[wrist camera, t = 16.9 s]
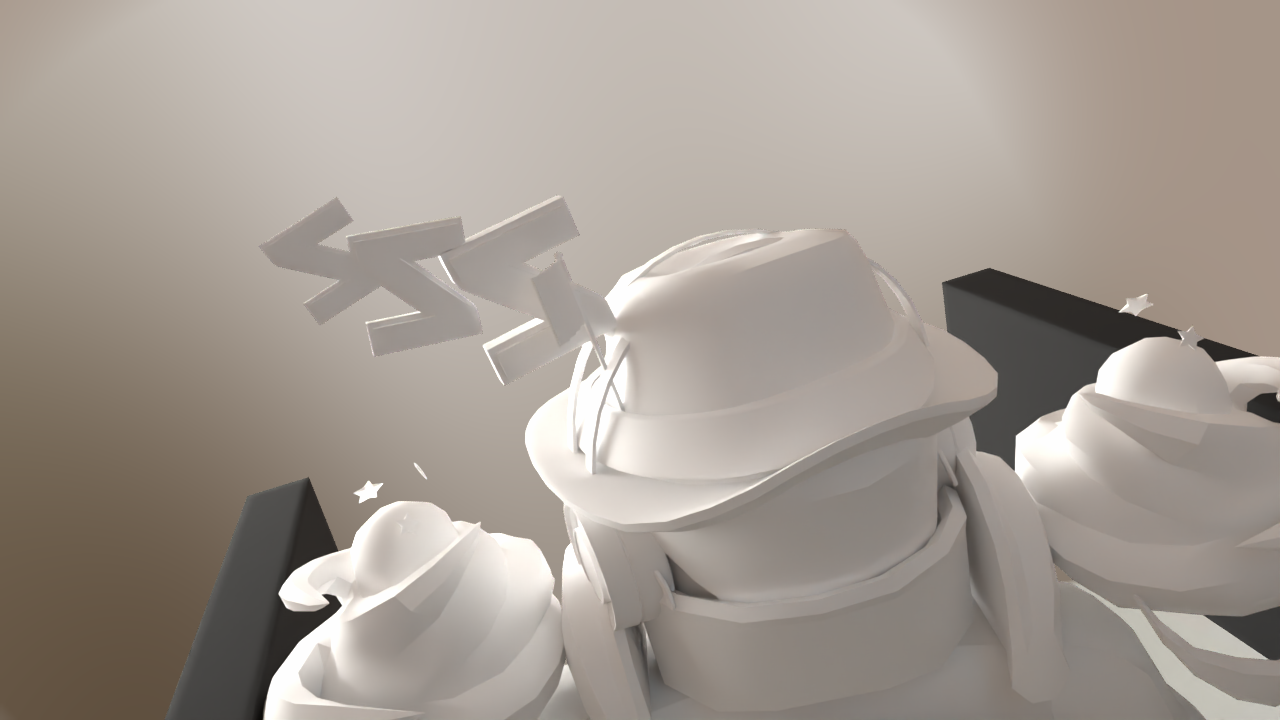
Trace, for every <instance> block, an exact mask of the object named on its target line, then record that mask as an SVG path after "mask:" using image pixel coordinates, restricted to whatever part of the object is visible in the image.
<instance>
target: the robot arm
mask: <svg viewBox="0 0 1280 720" xmlns="http://www.w3.org/2000/svg"><path fill="white" fill-rule="evenodd" d="M942 285H943V295H944V304H945V314H946V322H947V332H948V333H950V334H951V335H953V336H955V337H957V338H958V339H960V340H962V341H963V342H965V343H966V344H968V345H969V346H970V347H971V348H973V349H974V350H975V351H976V352H978V353H979V354H980V355H981V356H983V357H984V358H985V359H986V360H987V361H988V363H989V364H990V365H991V366H992V367H993V368H994V370H995V371H996V372H997V373H998V384H997V396H996V397H995V398H994V399H993V400H992V401H991V402H990V403H989V404H988V405H986V406H984V407H983V408H981V409H980V410H978V411H977V412H975V413H973V414H972V415H970V416H969V418H970V420H971V423H972V426H973V431H974V435H975V439H976V451H978V452H984V453H988V454H991V455H995V456H998V457H1000V458H1001V459H1002V460H1003V461H1004V462H1005V463H1006V464H1007V465H1008V466H1009V467H1010V468H1011V469H1013V470H1014V471H1015V457H1016V436H1017V435H1018V434H1019V433H1021V432H1022V431H1023V430H1025V429H1026V428H1027V427H1029V426H1030V425H1031V424H1033V423H1034V422H1035V421H1036V420H1038V419H1039V418H1040V417H1042V416H1044V415H1047V414H1049V413H1052V412H1055V411H1058V410H1062V409H1065V408H1066V407H1067V405H1068V403H1069V401H1070V399H1071V397H1072V395H1074V394H1075V393H1076V392H1078V391H1079V390H1080V389H1082V388H1083V387H1084V386H1086V385H1089V384H1093V383H1097V378H1098V372H1099V369H1100V368H1101V367H1102V366H1103V364H1104V363H1105V362H1106V361H1107V359H1108V358H1109V357H1110V356H1111V354H1113V353H1115V352H1117V351H1119V350H1121V349H1123V348H1125V347H1127V346H1130V345H1132V344H1134V343H1136V342H1138V341H1140V340H1142V339H1144V338H1153V337H1169V338H1173V339H1177V340H1181V341H1182V338H1181V336H1180V334H1179V332H1178V331H1181V330H1178V329H1175V328H1171V327H1168V326H1165V325H1162V324H1159V323H1156V322H1153V321H1150V320H1147V319H1144V318H1141V317H1138V316H1135V315H1132V314H1129V313H1126V312H1119V311H1120V310H1116V309H1113V308H1110V307H1107V306H1104V305H1101V304H1098V303H1095V302H1092V301H1089V300H1086V299H1083V298H1080V297H1077V296H1074V295H1071V294H1067V293H1064V292H1061V291H1058V290H1055V289H1052V288H1049V287H1046V286H1043V285H1040V284H1037V283H1034V282H1031V281H1028V280H1025V279H1022V278H1019V277H1015V276H1012V275H1009V274H1006V273H1003V272H1000V271H997V270H994V269H991V268H988V269H984V270H981V271H978V272H975V273H972V274H968V275H965V276H962V277H959V278H955V279H952V280H949V281H946V282H943V283H942ZM1197 346H1198V347H1200V348H1203V349H1204V350H1205V351H1206V353H1207V354H1208V355H1209V356H1210V357H1211V358H1212V360H1213V361H1214V362H1218V361H1224V360H1231V359H1239V358H1247V357H1260V356H1257V355H1254V354H1251V353H1248V352H1245V351H1242V350H1239V349H1236V348H1233V347H1230V346H1226V345H1224V344H1220V343H1217V342H1214V341H1211V340H1208V339H1205V338H1204V339H1202V340H1200V341H1198V342H1197ZM1276 395H1277V392H1275V393H1262V394H1259V395H1258V396H1256V397H1255V398H1253V399H1252V400H1250V401H1249V402H1247V412H1250V413H1253V414H1255V415H1257V416H1260V417H1262V418H1264V419H1267V420H1269V421H1271V422H1274V423H1280V402H1279V401H1278V400H1277V398H1276ZM335 552H339V551H338V549H337V546H336V544H335V541H334V539H333V537H332V534H331V531H330V529H329V527H328V524H327V522H326V519H325V517H324V514H323V512H322V509H321V507H320V504H319V502H318V499H317V497H316V494H315V492H314V489H313V487H312V484H311V482H310V479H309V478H305V479H302V480H299V481H295V482H292V483H289V484H285V485H282V486H279V487H276V488H273V489H269V490H266V491H263V492H259V493H256V494H253V495H250V496H248V497H247V499H246V502H245V505H244V507H243V510H242V513H241V516H240V518H239V521H238V523H237V526H236V529H235V531H234V534H233V537H232V540H231V542H230V545H229V548H228V550H227V553H226V556H225V558H224V561H223V564H222V566H221V569H220V572H219V574H218V577H217V580H216V583H215V586H214V588H213V591H212V593H211V596H210V599H209V601H208V604H207V607H206V610H205V612H204V615H203V618H202V620H201V623H200V626H199V628H198V631H197V634H196V636H195V639H194V642H193V645H192V647H191V650H190V653H189V655H188V658H187V661H186V664H185V667H184V669H183V672H182V674H181V677H180V680H179V682H178V685H177V688H176V690H175V693H174V696H173V698H172V701H171V704H170V707H169V709H168V712H167V715H166V717H165V720H263V709H264V703H265V700H266V697H267V694H268V690H269V687H270V684H271V681H272V678H273V676H274V675H275V674H276V672H277V671H278V670H279V668H280V667H281V666H282V664H283V663H284V662H285V660H286V659H287V658H288V656H289V655H290V654H291V652H292V651H293V650H294V648H295V647H296V646H297V644H298V643H299V642H300V641H301V640H302V639H304V638H305V637H306V636H308V635H309V634H310V633H311V632H313V631H314V630H315V629H316V628H318V627H319V626H320V625H322V624H323V623H324V622H325V621H327V620H328V619H329V618H330V617H332V616H333V615H334V614H336V613H337V612H338V611H339V609H340V608H341V607H342V604H341V603H340V601H339V600H338V598H337V597H336V596H335V595H330V594H322V596H323V597H324V598H325V599H326V600H327V601H328V602H329V604H328V605H326V606H325V607H324V608H321V609H319V610H317V611H292V610H290V609H288V608H286V606H285V605H284V603H283V601H282V599H281V597H280V596H279V592H280V590H281V588H282V586H283V584H284V583H285V582H286V581H287V579H288V578H289V577H290V575H291V574H292V573H293V572H294V571H295V570H296V569H298V568H300V567H302V566H303V565H305V564H307V563H309V562H310V561H312V560H314V559H317V558H320V557H323V556H326V555H329V554H332V553H335ZM1204 616H1205V617H1207V618H1208V619H1210V620H1211V621H1213V622H1214V623H1216V624H1217V625H1219V626H1220V627H1222V628H1223V629H1225V630H1226V631H1228V632H1229V633H1231V634H1232V635H1234V636H1235V637H1237V638H1238V639H1240V640H1241V641H1242V642H1244V643H1245V644H1247V645H1248V646H1250V647H1251V648H1253V649H1254V650H1256V651H1257V652H1259V653H1260V654H1262V655H1263V656H1265V657H1266V658H1268V659H1269V660H1276V661H1277V660H1279V659H1280V606H1278V607H1274V608H1271V609H1267V610H1264V611H1260V612H1257V613H1253V614H1250V615H1246V616H1218V615H1204Z"/></svg>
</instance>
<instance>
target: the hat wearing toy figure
mask: <svg viewBox="0 0 1280 720" xmlns="http://www.w3.org/2000/svg"><path fill="white" fill-rule="evenodd" d="M352 221H353V220H352V218H351V217H350V215H349V214H348V212H347V211H346V210H345V208H344V207H343V205H342V204H341V203H340V201H339V200H338V198H337V197H336V198H335V199H333V200H331V201H330V202H328V203H327V204H325V205H323V206H322V207H320V208H319V209H317V210H315V211H314V212H312V213H311V214H309V215H308V216H306V217H304V218H303V219H301V220H300V221H298V222H297V223H295V224H293V225H292V226H290V227H289V228H287V229H285V230H284V231H282V232H281V233H279V234H277V235H276V236H274V237H273V238H271V239H269V240H268V241H266V242H265V243H263V244H261V245H260V246H259V247H260V248H261V250H262V251H263V252H264V253H265V255H266V256H267V257H268V258H269V259H270V260H271V262H272V263H273V264H275V265H277V266H278V267H282V268H286V269H291V270H295V271H300V272H304V273H309V274H314V275H319V276H323V277H327V278H332V279H337V280H339V281H337V282H336V283H334V284H333V285H331V286H329V287H328V288H326V289H325V290H324V291H322V292H320V293H319V294H317V295H315V296H314V297H312V298H311V299H309V300H308V301H306V302H304V303H303V304H304V306H305V307H306V308H307V309H308V311H309V312H310V313H311V315H312V316H313V317H314V319H315V320H316V321H317V322H318V324H319V325H322V324H323V323H325V322H326V321H328V320H329V319H331V318H332V317H334V316H335V315H337V314H338V313H340V312H341V311H343V310H345V309H346V308H348V307H349V306H351V305H352V304H354V303H356V302H357V301H359V300H360V299H362V298H363V297H365V296H366V295H368V294H369V293H371V292H372V291H374V290H376V289H377V288H379V287H380V286H382V287H384V288H386V289H387V290H388V291H390V292H391V293H393V294H394V295H396V296H397V297H399V298H400V299H402V300H403V301H404V302H406V303H408V304H409V305H410V306H412V307H414V308H415V309H416V310H418V312H413V313H408V314H403V315H398V316H393V317H388V318H383V319H379V320H374V321H369V322H366V326H367V330H368V335H369V339H370V343H371V348H372V352H373V356H374V357H376V356H380V355H385V354H389V353H394V352H399V351H403V350H408V349H413V348H417V347H422V346H427V345H431V344H436V343H440V342H445V341H450V340H455V339H459V338H463V337H469V336H473V335H477V334H482V333H483V331H482V326H481V322H480V317H479V313H478V309H477V308H476V306H475V305H474V304H473V303H472V302H471V301H470V300H468V299H467V298H466V297H464V296H463V295H462V294H460V293H459V292H457V291H456V290H455V289H453V288H452V287H450V286H449V285H447V284H446V283H445V282H443V281H442V280H440V279H439V278H438V277H436V276H434V275H433V274H432V273H431V272H429V271H428V270H426V269H425V268H423V267H422V266H421V265H419V264H418V263H416V262H415V261H417V260H422V259H427V258H433V257H439V259H440V261H441V263H442V265H443V267H444V268H445V270H446V272H447V274H448V276H449V277H450V279H451V281H452V282H453V283H454V284H455V285H457V286H458V287H459V288H460V289H461V290H463V291H465V292H468V293H471V294H473V295H476V296H478V297H481V298H484V299H486V300H489V301H492V302H494V303H497V304H500V305H502V306H505V307H508V308H511V309H513V310H516V311H519V312H521V313H524V314H527V315H530V316H532V317H535V319H533V320H531V321H529V322H527V323H525V324H523V325H521V326H519V327H517V328H515V329H513V330H512V331H510V332H508V333H506V334H504V335H502V336H500V337H498V338H496V339H494V340H492V341H490V342H488V343H485V344H484V345H483V348H484V349H485V352H486V354H487V356H488V358H489V359H490V362H491V363H492V366H493V368H494V370H495V371H496V374H497V376H498V378H499V380H500V381H501V382H502V383H503V384H504V386H505V385H507V384H509V383H511V382H513V381H515V380H517V379H518V378H520V377H522V376H524V375H526V374H528V373H530V372H532V371H534V370H536V369H538V368H540V367H542V366H543V365H545V364H547V363H549V362H551V361H553V360H555V359H557V358H559V357H561V356H563V355H565V354H567V353H568V352H570V351H572V350H574V349H576V348H578V347H580V346H582V345H583V347H582V349H581V351H580V354H579V356H578V359H577V363H576V367H575V371H574V374H573V378H572V382H571V386H570V388H568V389H567V390H565V391H563V392H562V393H561V394H558V395H557V396H555V397H554V398H552V399H550V400H549V401H548V402H547V403H546V404H544V405H543V406H542V407H541V408H539V409H538V410H537V412H536V413H535V414H534V415H533V417H532V418H531V419H530V421H529V424H528V426H527V429H526V435H525V436H526V437H525V438H526V439H525V444H526V446H527V449H528V452H529V455H530V458H531V461H532V463H533V466H534V467H535V469H536V470H537V472H538V473H539V475H540V476H541V478H542V479H543V481H544V482H545V484H546V485H547V486H548V488H550V489H551V490H552V491H553V492H554V493H555V494H556V495H557V496H558V497H559V498H560V499H561V500H562V501H563V502H564V503H565V504H564V517H565V522H566V526H567V530H568V534H569V538H570V541H571V544H570V545H569V546H568V547H567V549H566V552H565V558H564V564H563V570H562V609H561V606H560V603H559V600H558V599H557V598H556V597H555V596H554V595H553V594H552V592H553V588H554V582H555V578H554V577H553V576H552V575H551V570H550V568H549V566H548V564H547V562H546V560H545V558H544V556H543V554H542V552H541V550H540V549H539V548H538V546H537V545H536V544H535V543H534V542H533V541H532V540H530V539H524V538H517V537H512V536H509V535H505V534H501V533H493V534H488V533H486V532H485V531H483V530H482V529H481V528H480V524H481V522H479V523H477V524H471V523H467V522H464V521H456V522H452V521H451V520H450V518H449V516H448V515H447V513H446V512H445V511H443V510H442V509H440V508H439V507H437V506H435V505H433V504H432V503H430V502H414V501H397V502H395V503H392V504H390V505H387V506H384V507H382V508H380V509H379V510H378V511H377V512H376V513H375V514H374V515H373V516H372V517H371V518H370V519H369V520H368V521H367V522H366V523H365V524H364V525H363V526H362V527H361V528H360V529H359V530H358V531H357V532H356V536H355V539H354V542H353V545H352V548H349V549H346V550H342V551H339V552H335V553H332V554H329V555H326V556H323V557H320V558H317V559H314V560H312V561H310V562H309V563H307V564H305V565H303V566H302V567H300V568H298V569H296V570H295V571H294V572H293V573H292V574H291V575H290V577H289V578H288V579H287V581H286V582H285V583H284V584H283V586H282V588H281V590H280V592H279V596H280V597H281V599H282V601H283V603H284V605H285V606H286V608H288V609H290V610H292V611H317V610H319V609H321V608H324V607H325V606H326V605H328V604H329V602H328V601H327V600H326V599H325V598H324V597H323V596H322V594H330V595H335V596H336V597H337V598H338V600H339V601H340V603H341V604H342V607H341V608H340V609H339V611H338V612H337V613H336V614H334V615H333V616H332V617H330V618H329V619H328V620H327V621H325V622H324V623H323V624H322V625H320V626H319V627H318V628H316V629H315V630H314V631H313V632H311V633H310V634H309V635H308V636H306V637H305V638H304V639H302V640H301V641H300V642H299V643H298V644H297V646H296V647H295V648H294V650H293V651H292V652H291V654H290V655H289V656H288V658H287V659H286V660H285V662H284V663H283V664H282V666H281V667H280V668H279V670H278V671H277V672H276V674H275V675H274V676H273V678H272V681H271V684H270V687H269V690H268V694H267V697H266V700H265V703H264V709H263V720H1206V719H1205V718H1204V716H1203V715H1202V714H1201V713H1200V712H1199V711H1198V710H1197V708H1196V707H1195V706H1193V705H1192V704H1191V703H1190V702H1188V701H1187V700H1186V699H1185V698H1184V697H1182V696H1181V695H1180V694H1179V693H1178V692H1176V691H1175V690H1174V689H1173V688H1172V687H1170V686H1169V685H1168V684H1166V682H1165V681H1164V679H1163V677H1162V676H1161V674H1160V672H1159V671H1158V669H1157V667H1156V666H1155V664H1154V662H1153V661H1152V659H1151V658H1150V656H1149V654H1148V653H1147V651H1146V650H1145V648H1144V646H1143V645H1142V643H1141V642H1140V640H1139V638H1138V637H1137V635H1136V634H1135V632H1134V630H1133V629H1132V628H1131V627H1130V626H1129V625H1128V624H1127V623H1126V622H1125V621H1123V620H1122V619H1121V618H1120V617H1119V616H1118V615H1117V614H1116V613H1114V612H1113V611H1112V610H1110V609H1109V608H1108V607H1107V606H1105V605H1104V604H1103V603H1102V602H1100V601H1099V600H1098V599H1097V598H1095V597H1094V596H1093V595H1091V594H1089V593H1087V592H1085V591H1083V590H1082V589H1080V588H1078V587H1076V586H1074V585H1073V584H1071V583H1069V582H1061V581H1058V580H1057V575H1056V571H1055V567H1054V564H1056V565H1057V566H1058V567H1059V568H1060V569H1061V570H1063V571H1064V572H1065V573H1066V574H1067V575H1068V576H1069V577H1070V578H1071V579H1072V580H1074V581H1076V582H1077V583H1079V584H1081V585H1082V586H1084V587H1086V588H1087V589H1089V590H1091V591H1092V592H1094V593H1096V594H1097V595H1099V596H1101V597H1102V598H1104V599H1106V600H1107V601H1109V602H1111V603H1113V604H1114V605H1116V606H1118V607H1121V608H1132V609H1141V611H1142V612H1143V614H1144V615H1145V617H1146V618H1147V620H1148V621H1149V623H1150V624H1151V626H1152V628H1153V629H1154V631H1155V632H1156V634H1157V635H1158V637H1159V638H1160V640H1161V641H1162V643H1163V644H1164V645H1165V646H1166V647H1167V648H1169V649H1170V650H1171V651H1172V652H1173V653H1174V654H1175V655H1176V656H1177V657H1178V659H1179V660H1180V661H1181V662H1182V663H1183V664H1184V665H1185V666H1186V667H1187V668H1188V669H1189V670H1190V671H1191V672H1192V673H1193V674H1194V675H1195V676H1196V677H1198V678H1200V679H1202V680H1204V681H1205V682H1207V683H1209V684H1211V685H1212V686H1214V687H1216V688H1218V689H1219V690H1221V691H1223V692H1225V693H1226V694H1228V695H1230V696H1232V697H1233V698H1235V699H1237V700H1242V701H1248V702H1253V703H1258V704H1263V705H1269V706H1274V707H1276V706H1278V705H1280V659H1279V660H1277V661H1276V660H1264V659H1251V658H1239V657H1233V656H1229V655H1225V654H1220V653H1216V652H1212V651H1208V650H1203V649H1199V648H1195V647H1193V646H1192V645H1190V644H1189V643H1188V642H1186V641H1185V640H1184V639H1183V638H1181V637H1180V636H1179V635H1177V634H1176V633H1175V632H1174V631H1172V630H1171V629H1170V628H1169V627H1167V626H1166V625H1165V624H1163V623H1162V622H1161V621H1160V620H1159V619H1158V618H1157V617H1156V615H1155V614H1154V613H1153V612H1152V611H1151V610H1154V611H1165V612H1175V613H1186V614H1197V615H1218V616H1246V615H1250V614H1253V613H1257V612H1260V611H1264V610H1267V609H1271V608H1274V607H1278V606H1280V423H1274V422H1271V421H1269V420H1267V419H1264V418H1262V417H1260V416H1257V415H1255V414H1253V413H1250V412H1247V402H1249V401H1250V400H1252V399H1253V398H1255V397H1256V396H1258V395H1259V394H1262V393H1275V392H1277V395H1276V398H1277V400H1278V401H1279V402H1280V357H1247V358H1239V359H1231V360H1224V361H1218V362H1214V361H1213V360H1212V358H1211V357H1210V356H1209V355H1208V354H1207V353H1206V351H1205V350H1204V349H1203V348H1200V347H1198V346H1197V342H1198V341H1200V340H1202V339H1204V338H1203V337H1201V336H1199V335H1197V334H1196V333H1195V330H1194V327H1193V326H1191V328H1190V329H1189V330H1188V331H1187V332H1185V331H1178V332H1179V334H1180V336H1181V338H1182V341H1181V340H1177V339H1173V338H1169V337H1153V338H1144V339H1142V340H1140V341H1138V342H1136V343H1134V344H1132V345H1130V346H1127V347H1125V348H1123V349H1121V350H1119V351H1117V352H1115V353H1113V354H1111V356H1110V357H1109V358H1108V359H1107V361H1106V362H1105V363H1104V364H1103V366H1102V367H1101V368H1100V369H1099V372H1098V378H1097V383H1093V384H1089V385H1086V386H1084V387H1083V388H1082V389H1080V390H1079V391H1078V392H1076V393H1075V394H1074V395H1072V397H1071V399H1070V401H1069V403H1068V405H1067V407H1066V408H1065V409H1062V410H1058V411H1055V412H1052V413H1049V414H1047V415H1044V416H1042V417H1040V418H1039V419H1038V420H1036V421H1035V422H1034V423H1033V424H1031V425H1030V426H1029V427H1027V428H1026V429H1025V430H1023V431H1022V432H1021V433H1019V434H1018V435H1017V436H1016V457H1015V471H1014V470H1013V469H1011V468H1010V467H1009V466H1008V465H1007V464H1006V463H1005V462H1004V461H1003V460H1002V459H1001V458H1000V457H998V456H995V455H991V454H988V453H984V452H978V451H976V439H975V435H974V431H973V426H972V423H971V420H970V418H969V416H970V415H972V414H973V413H975V412H977V411H978V410H980V409H981V408H983V407H984V406H986V405H988V404H989V403H990V402H991V401H992V400H993V399H994V398H995V397H996V396H997V384H998V373H997V372H996V371H995V370H994V368H993V367H992V366H991V365H990V364H989V363H988V361H987V360H986V359H985V358H984V357H983V356H981V355H980V354H979V353H978V352H976V351H975V350H974V349H973V348H971V347H970V346H969V345H968V344H966V343H965V342H963V341H962V340H960V339H958V338H957V337H955V336H953V335H951V334H950V333H948V332H946V331H945V330H943V329H941V328H938V327H936V326H933V325H930V324H927V323H925V322H922V319H921V317H920V315H919V314H918V312H917V310H916V308H915V306H914V304H913V302H912V300H911V298H910V297H909V295H908V294H907V293H906V292H905V290H904V289H903V288H902V287H901V285H900V284H899V283H898V281H897V280H896V279H895V278H894V277H893V276H891V275H890V274H889V273H888V272H887V271H886V270H885V269H883V268H882V267H881V266H880V265H879V264H877V263H876V262H874V261H872V260H870V259H869V258H867V257H866V256H865V254H864V253H863V251H862V249H861V247H860V246H859V244H858V242H857V241H856V239H854V238H853V237H852V236H851V235H850V234H849V233H848V232H847V231H846V230H842V229H817V228H815V229H801V230H794V231H786V232H778V231H770V230H763V229H745V230H744V229H743V230H724V231H720V232H715V233H711V234H706V235H702V236H698V237H695V238H693V239H690V240H688V241H685V242H683V243H681V244H678V245H676V246H673V247H671V248H670V249H668V250H666V251H665V252H663V253H661V254H660V255H658V256H657V257H655V258H653V259H652V260H650V261H648V262H647V263H646V264H645V265H644V266H641V267H638V268H636V269H635V270H632V271H631V272H629V273H626V274H624V275H623V276H622V277H621V278H620V280H619V281H618V283H617V284H616V286H615V287H614V289H613V290H612V291H611V292H610V293H609V294H608V295H607V297H606V298H604V297H603V296H602V295H600V294H598V293H596V292H595V291H593V290H590V289H588V288H586V287H583V286H581V285H578V284H575V283H573V282H572V279H571V277H570V275H569V272H568V270H567V267H566V265H565V262H564V260H563V254H562V253H561V252H556V253H555V259H556V260H555V261H554V263H553V264H551V266H549V267H548V268H546V270H545V271H543V270H540V269H538V268H535V267H533V266H530V265H528V264H525V263H524V262H526V261H528V260H530V259H532V258H534V257H536V256H538V255H540V254H542V253H544V252H546V251H548V250H550V249H552V248H554V247H556V246H558V245H561V244H562V243H565V242H567V241H568V240H571V239H573V238H575V237H577V236H579V235H580V234H579V232H578V230H577V227H576V225H575V223H574V220H573V218H572V216H571V214H570V211H569V209H568V207H567V204H566V202H565V200H564V197H562V196H558V195H556V196H554V197H552V198H550V199H548V200H546V201H544V202H542V203H539V204H537V205H535V206H533V207H531V208H529V209H527V210H525V211H523V212H521V213H518V214H516V215H514V216H512V217H510V218H508V219H506V220H504V221H502V222H500V223H497V224H495V225H493V226H491V227H489V228H487V229H485V230H483V231H481V232H479V233H476V234H474V235H473V236H470V237H468V238H466V239H465V237H464V232H463V226H462V221H461V217H460V216H458V217H451V218H445V219H439V220H434V221H428V222H424V223H417V224H412V225H406V226H400V227H395V228H389V229H383V230H378V231H372V232H366V233H360V234H354V235H349V236H346V239H347V243H348V247H349V251H350V252H349V251H345V250H340V249H336V248H332V247H328V246H323V245H318V243H319V242H321V241H322V240H324V239H326V238H327V237H329V236H330V235H332V234H333V233H335V232H337V231H338V230H340V229H342V228H343V227H345V226H346V225H348V224H349V223H351V222H352ZM747 233H750V234H747ZM731 234H745V235H740V236H736V237H732V238H727V239H723V240H719V241H715V242H712V243H709V244H704V245H701V246H698V247H695V248H691V249H688V250H685V251H682V252H679V251H681V250H683V249H686V248H688V247H691V246H693V245H695V244H698V243H700V242H703V241H705V240H709V239H713V238H718V237H722V236H726V235H731ZM677 252H679V253H677ZM872 270H873V271H875V272H876V273H877V274H878V275H879V276H881V277H882V278H883V279H884V281H885V282H886V283H887V284H888V286H889V287H890V288H891V290H892V291H893V292H894V293H895V295H896V296H897V298H898V299H899V301H900V303H901V305H902V307H903V309H904V311H905V313H906V315H907V316H903V315H902V314H900V313H898V312H896V311H894V310H892V309H890V308H888V307H887V304H886V302H885V300H884V297H883V295H882V292H881V290H880V288H879V285H878V283H877V281H876V278H875V276H874V273H873V271H872ZM1147 296H1148V294H1145V295H1143V296H1140V297H1137V298H1126V301H1127V304H1126V305H1125V306H1124V307H1123V308H1122V309H1121V310H1120V311H1119V312H1132V313H1133V314H1134V315H1135V316H1136V315H1137V314H1138V313H1139V312H1140V311H1141V310H1142V309H1145V308H1147V307H1149V306H1152V305H1153V304H1152V303H1150V302H1148V301H1146V300H1147ZM603 334H604V335H605V339H606V343H607V346H606V356H605V360H604V357H603V355H602V352H601V350H600V347H599V345H598V343H597V340H596V338H597V337H599V336H601V335H603ZM592 347H594V350H595V352H596V354H597V357H598V359H599V361H600V364H601V366H600V367H599V368H598V369H597V370H596V371H595V372H594V373H592V374H591V375H590V376H589V377H588V378H587V379H586V380H584V381H582V382H581V380H582V376H583V373H584V369H585V365H586V361H587V359H588V357H589V354H590V352H591V350H592ZM414 465H415V467H416V468H417V470H418V471H419V472H420V473H421V475H422V476H423V477H425V478H426V476H425V474H424V472H423V471H422V470H421V469H420V467H419V466H418V465H417V464H415V463H414ZM426 479H427V478H426ZM382 484H383V483H380V484H371V482H370V481H368V482H367V483H366V485H365V486H364V487H363V488H361V489H360V490H358V491H356V492H355V493H354V494H356V495H359V496H360V500H359V503H361V502H363V501H365V500H366V499H368V498H374V497H377V493H376V492H377V490H378V489H379V488H380V487H381V485H382ZM566 659H567V664H568V665H564V663H565V660H566Z"/></svg>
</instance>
